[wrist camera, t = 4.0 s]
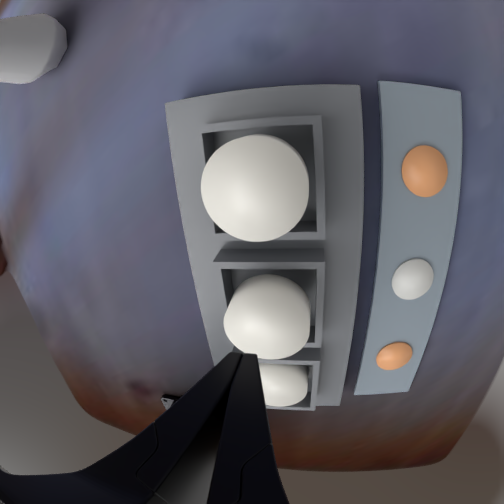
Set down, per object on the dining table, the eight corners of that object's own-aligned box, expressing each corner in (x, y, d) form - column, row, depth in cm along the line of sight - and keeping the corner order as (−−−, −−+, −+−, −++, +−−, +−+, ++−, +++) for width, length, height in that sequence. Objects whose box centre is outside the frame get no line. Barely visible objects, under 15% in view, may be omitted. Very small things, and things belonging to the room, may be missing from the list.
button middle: (309, 339, 17) (308, 360, 15) (237, 336, 18) (229, 356, 16) (311, 274, 15) (310, 293, 13) (226, 273, 16) (217, 292, 14)
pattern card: (407, 387, 22) (408, 393, 21) (353, 390, 23) (354, 396, 22) (456, 92, 12) (461, 91, 11) (377, 81, 13) (380, 80, 12)
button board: (339, 387, 23) (339, 420, 20) (228, 382, 25) (218, 413, 22) (353, 88, 13) (365, 81, 10) (179, 103, 15) (150, 102, 12)
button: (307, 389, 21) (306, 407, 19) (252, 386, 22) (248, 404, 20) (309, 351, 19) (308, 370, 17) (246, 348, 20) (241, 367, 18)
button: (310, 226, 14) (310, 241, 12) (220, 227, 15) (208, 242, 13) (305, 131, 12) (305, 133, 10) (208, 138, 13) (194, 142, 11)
